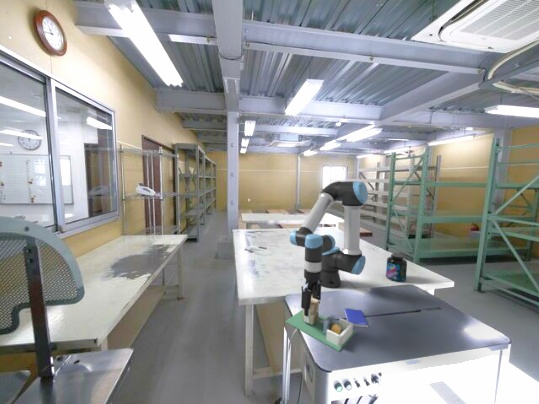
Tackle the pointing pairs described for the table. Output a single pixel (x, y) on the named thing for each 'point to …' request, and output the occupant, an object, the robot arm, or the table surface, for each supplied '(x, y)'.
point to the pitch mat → (314, 329)
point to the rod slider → (314, 317)
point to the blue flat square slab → (356, 317)
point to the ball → (336, 328)
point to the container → (396, 268)
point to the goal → (344, 335)
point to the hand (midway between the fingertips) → (310, 319)
